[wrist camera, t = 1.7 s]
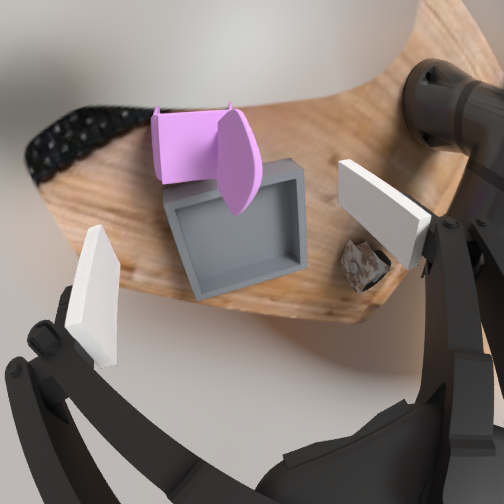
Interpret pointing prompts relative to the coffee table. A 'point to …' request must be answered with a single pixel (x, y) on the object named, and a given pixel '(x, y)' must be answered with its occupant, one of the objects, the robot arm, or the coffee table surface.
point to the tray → (240, 231)
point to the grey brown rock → (363, 265)
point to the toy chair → (208, 152)
